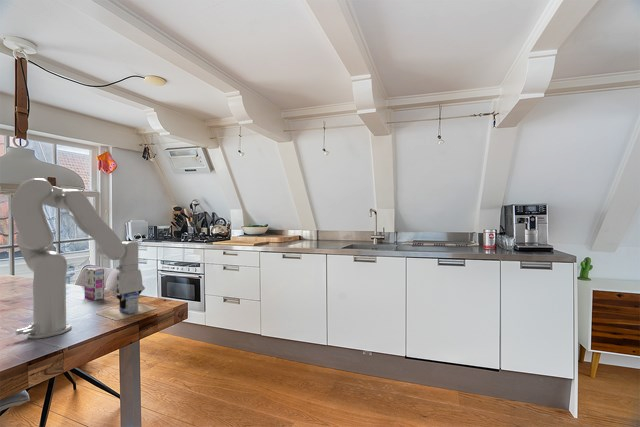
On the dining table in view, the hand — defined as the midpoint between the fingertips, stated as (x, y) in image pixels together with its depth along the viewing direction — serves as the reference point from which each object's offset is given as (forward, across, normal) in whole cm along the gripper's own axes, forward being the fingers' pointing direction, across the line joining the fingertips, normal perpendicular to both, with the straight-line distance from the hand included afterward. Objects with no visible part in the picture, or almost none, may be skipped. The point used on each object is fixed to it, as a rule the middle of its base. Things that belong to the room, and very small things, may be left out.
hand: (128, 306), depth 138 cm
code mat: (+3, 0, +2) cm, 3 cm away
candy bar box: (+3, +3, +41) cm, 41 cm away
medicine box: (+3, 0, 0) cm, 3 cm away
